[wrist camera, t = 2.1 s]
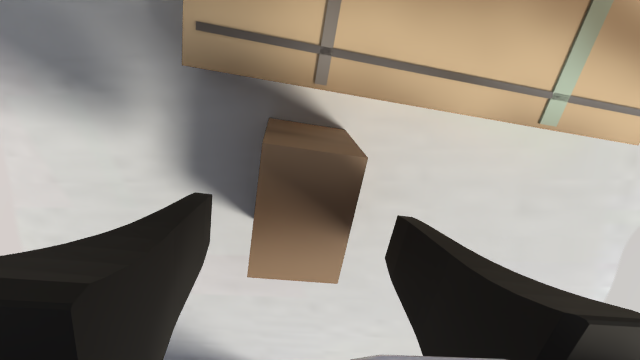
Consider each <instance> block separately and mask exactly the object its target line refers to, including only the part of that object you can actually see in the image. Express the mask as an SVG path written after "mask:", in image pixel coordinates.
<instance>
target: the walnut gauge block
mask: <svg viewBox="0 0 640 360" xmlns="http://www.w3.org/2000/svg"><path fill="white" fill-rule="evenodd" d="M367 160H368V157H367V156H366V155H365V154H364V153H363V151H362V150H361V149H360V148H359V146H358V145H357V144H356V143H355V141H354V140H353V139H352V138H351V137H350V135H349V134H348V133H347V132H346V130H343V129H337V128H331V127H324V126H318V125H311V124H305V123H299V122H292V121H286V120H279V119H273V118H269V120H268V124H267V128H266V131H265V135H264V139H263V143H262V151H261V160H260V168H259V177H258V186H257V195H256V204H255V213H254V221H253V230H252V239H251V248H250V257H249V266H248V275H247V277H252V278H265V279H279V280H293V281H306V282H320V283H334V284H337V283H338V279H339V275H340V271H341V267H342V263H343V259H344V255H345V250H346V246H347V242H348V238H349V234H350V230H351V226H352V222H353V218H354V213H355V209H356V205H357V201H358V197H359V193H360V189H361V185H362V181H363V176H364V172H365V168H366V164H367Z"/></svg>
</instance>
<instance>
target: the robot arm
mask: <svg viewBox="0 0 640 360" xmlns="http://www.w3.org/2000/svg"><path fill="white" fill-rule="evenodd" d="M211 210H212V194H203V193H193V194H190V195H188V196H186V197H184V198H183V199H181V200H179V201H177V202H175V203H173V204H171V205H169V206H167V207H165V208H163V209H161V210H159V211H157V212H155V213H153V214H151V215H148V216H146V217H144V218H142V219H140V220H137V221H135V222H133V223H130V224H128V225H125V226H122V227H120V228H117V229H114V230H111V231H108V232H105V233H102V234H99V235H95V236H91V237H88V238H84V239H80V240H77V241H73V242H69V243H66V244H61V245H57V246H52V247H48V248H43V249H38V250H33V251H27V252H22V253H17V254H10V255H5V256H0V360H163V358H164V355H165V352H166V349H167V347H168V344H169V341H170V338H171V335H172V332H173V329H174V327H175V325H176V322H177V320H178V317H179V315H180V313H181V311H182V309H183V307H184V304H185V302H186V300H187V298H188V296H189V294H190V292H191V290H192V287H193V285H194V283H195V281H196V279H197V277H198V274H199V272H200V270H201V268H202V266H203V263H204V260H205V256H206V253H207V250H208V246H209V243H210V228H211ZM385 260H386V264H387V268H388V271H389V275H390V278H391V281H392V283H393V286H394V288H395V290H396V292H397V295H398V297H399V299H400V301H401V303H402V306H403V308H404V310H405V312H406V314H407V317H408V319H409V321H410V323H411V325H412V327H413V330H414V332H415V335H416V337H417V340H418V342H419V345H420V348H421V351H422V354H423V356H402V355H376V356H369V357H363V358H357V359H351V360H640V313H638V312H635V311H633V310H629V309H625V308H621V307H618V306H614V305H610V304H606V303H603V302H599V301H595V300H592V299H588V298H585V297H582V296H579V295H575V294H572V293H569V292H566V291H563V290H560V289H557V288H554V287H552V286H549V285H546V284H543V283H541V282H538V281H536V280H533V279H530V278H528V277H525V276H523V275H520V274H518V273H516V272H513V271H511V270H509V269H507V268H505V267H502V266H500V265H498V264H496V263H494V262H492V261H490V260H488V259H486V258H484V257H482V256H480V255H478V254H476V253H475V252H473V251H471V250H469V249H467V248H466V247H464V246H462V245H460V244H459V243H457V242H455V241H454V240H452V239H450V238H449V237H447V236H445V235H444V234H442V233H440V232H439V231H437V230H435V229H434V228H432V227H430V226H429V225H427V224H425V223H423V222H421V221H420V220H418V219H415V218H413V217H406V216H397V220H396V223H395V226H394V230H393V233H392V236H391V240H390V243H389V246H388V249H387V253H386V256H385Z"/></svg>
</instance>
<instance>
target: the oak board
mask: <svg viewBox="0 0 640 360" xmlns="http://www.w3.org/2000/svg"><path fill="white" fill-rule="evenodd" d="M182 65H184V66H190V67H195V68H201V69H207V70H212V71H218V72H224V73H229V74H235V75H241V76H246V77H252V78H258V79H264V80H269V81H275V82H281V83H286V84H292V85H298V86H303V87H309V88H315V89H320V90H326V91H332V92H337V93H343V94H349V95H354V96H360V97H366V98H372V99H377V100H383V101H389V102H394V103H400V104H406V105H411V106H417V107H423V108H428V109H434V110H440V111H445V112H451V113H457V114H462V115H468V116H474V117H480V118H485V119H491V120H497V121H502V122H508V123H514V124H519V125H525V126H531V127H536V128H542V129H548V130H553V131H559V132H565V133H571V134H576V135H582V136H588V137H593V138H599V139H605V140H610V141H616V142H622V143H627V144H633V145H639V143H640V0H183V32H182Z"/></svg>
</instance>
